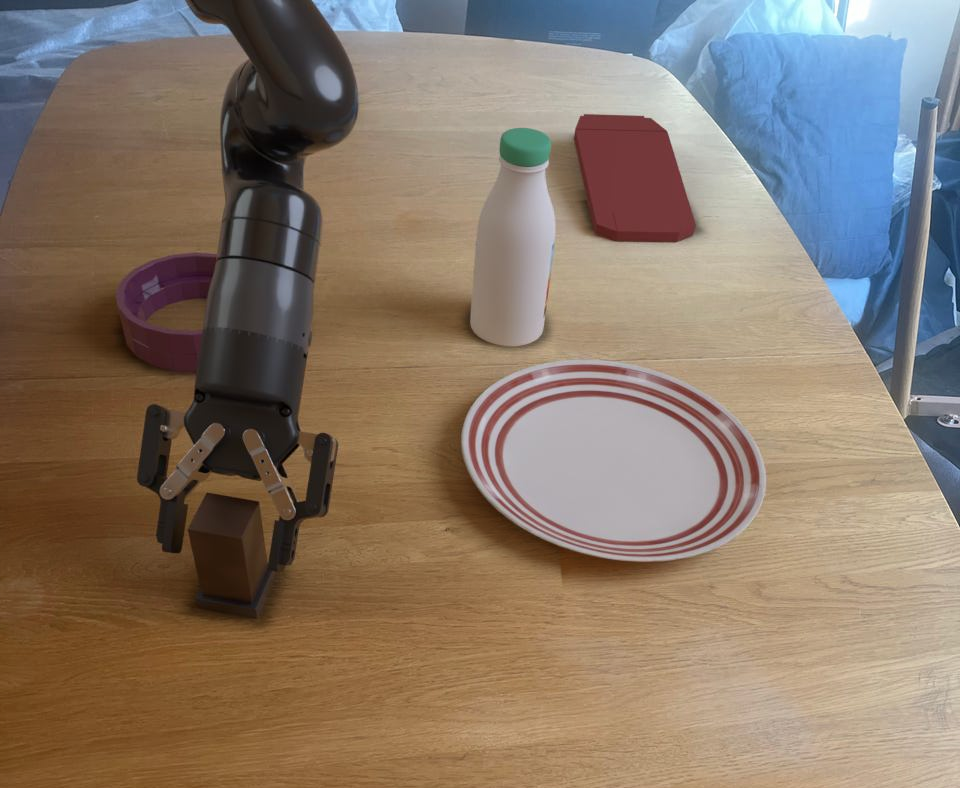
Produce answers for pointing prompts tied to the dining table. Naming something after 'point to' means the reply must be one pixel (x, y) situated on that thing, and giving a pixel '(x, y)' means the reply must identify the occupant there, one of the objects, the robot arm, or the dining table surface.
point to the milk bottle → (515, 244)
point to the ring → (153, 292)
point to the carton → (632, 179)
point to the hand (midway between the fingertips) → (223, 561)
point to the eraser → (230, 556)
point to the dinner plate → (613, 460)
